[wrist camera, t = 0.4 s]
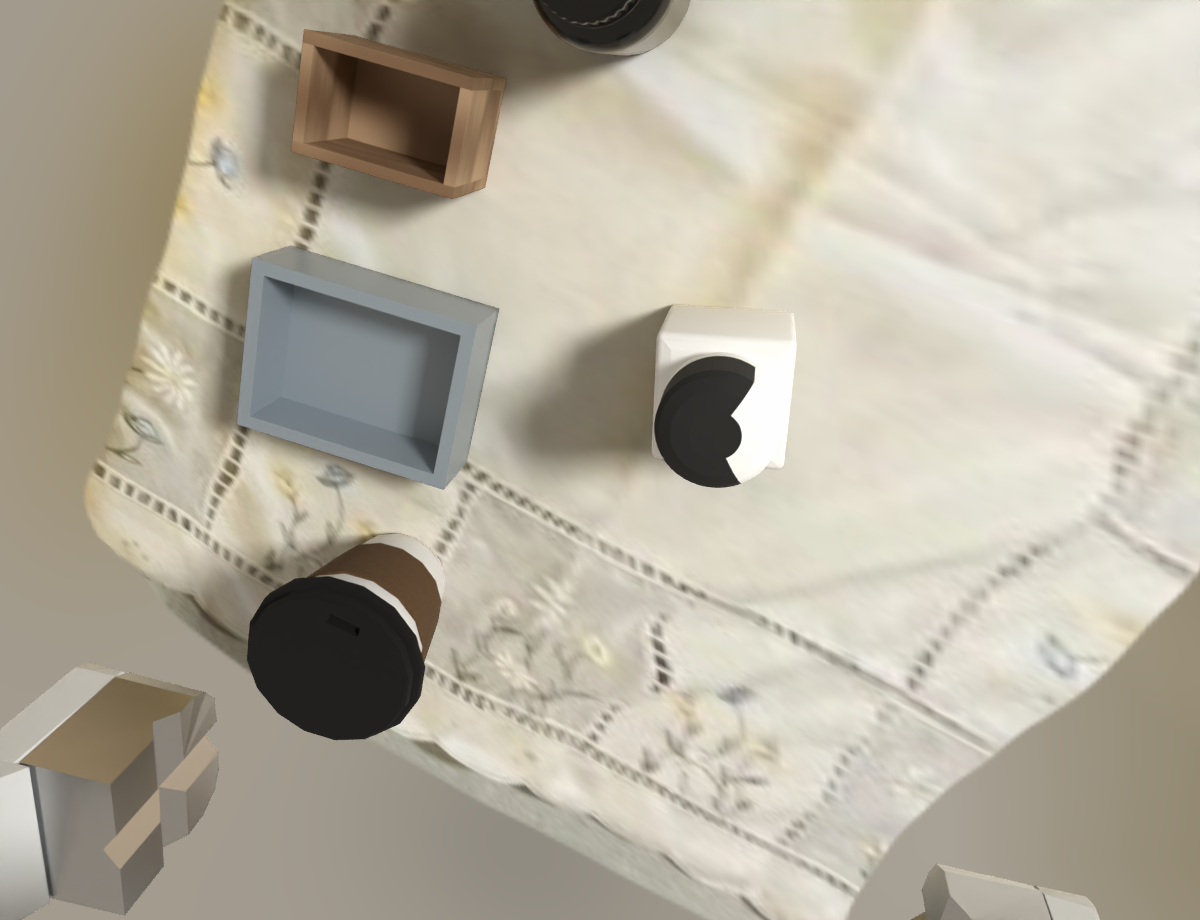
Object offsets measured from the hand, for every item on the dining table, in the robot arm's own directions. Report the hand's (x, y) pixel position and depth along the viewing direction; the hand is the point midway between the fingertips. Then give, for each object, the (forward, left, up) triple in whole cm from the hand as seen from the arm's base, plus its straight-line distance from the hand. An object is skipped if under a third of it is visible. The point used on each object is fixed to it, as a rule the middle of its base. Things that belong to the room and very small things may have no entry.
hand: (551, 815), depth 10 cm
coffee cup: (+28, -15, -45) cm, 55 cm away
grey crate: (+13, -19, -45) cm, 51 cm away
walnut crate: (-2, -19, -45) cm, 49 cm away
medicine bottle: (+7, +2, -45) cm, 46 cm away
